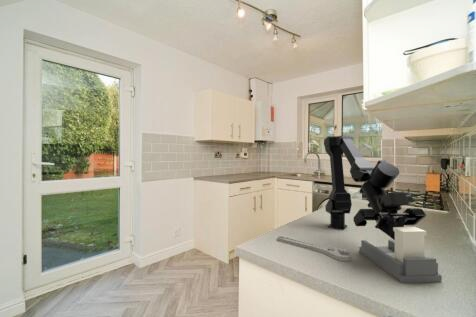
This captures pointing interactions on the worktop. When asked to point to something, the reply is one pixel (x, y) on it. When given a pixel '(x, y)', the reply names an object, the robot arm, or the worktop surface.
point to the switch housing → (405, 272)
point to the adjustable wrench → (319, 249)
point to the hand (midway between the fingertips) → (403, 245)
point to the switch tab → (409, 242)
